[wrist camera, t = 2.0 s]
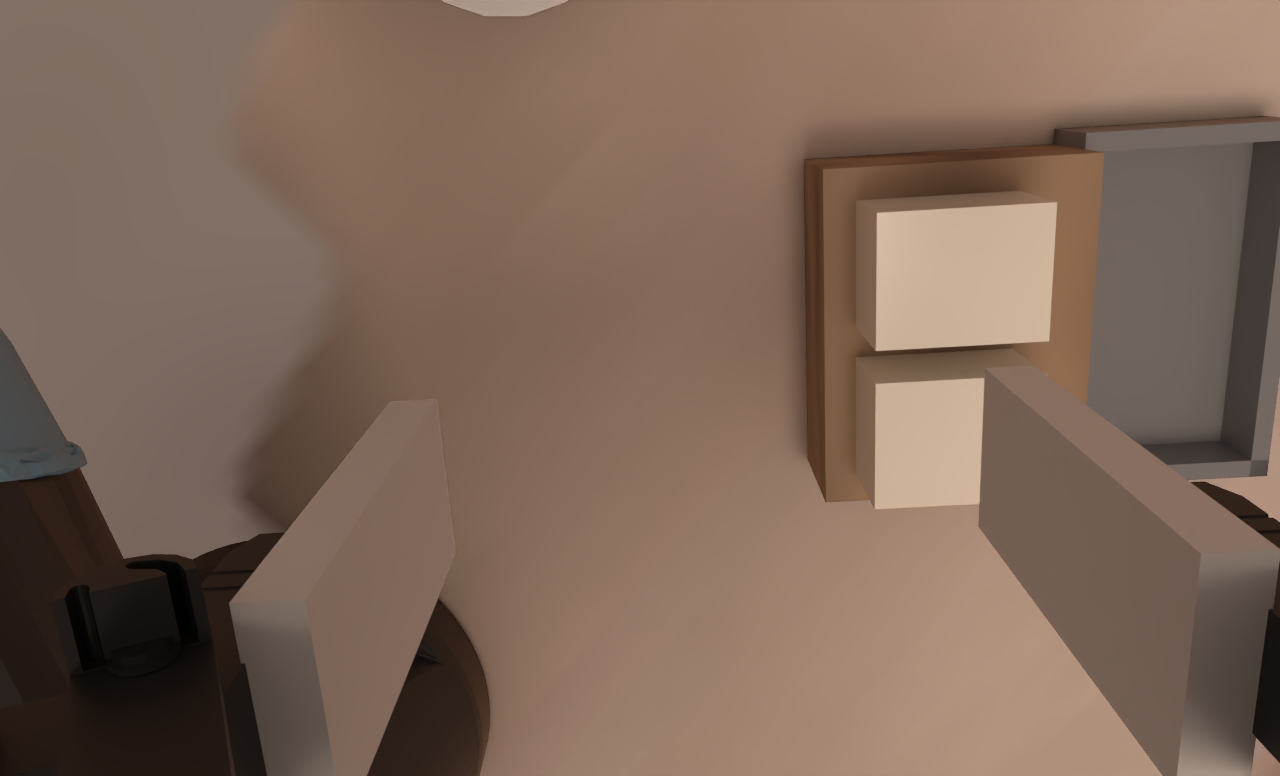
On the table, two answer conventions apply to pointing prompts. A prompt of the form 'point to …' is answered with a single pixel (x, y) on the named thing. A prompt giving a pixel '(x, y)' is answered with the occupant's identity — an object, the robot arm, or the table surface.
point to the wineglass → (505, 6)
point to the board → (839, 342)
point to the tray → (1188, 290)
